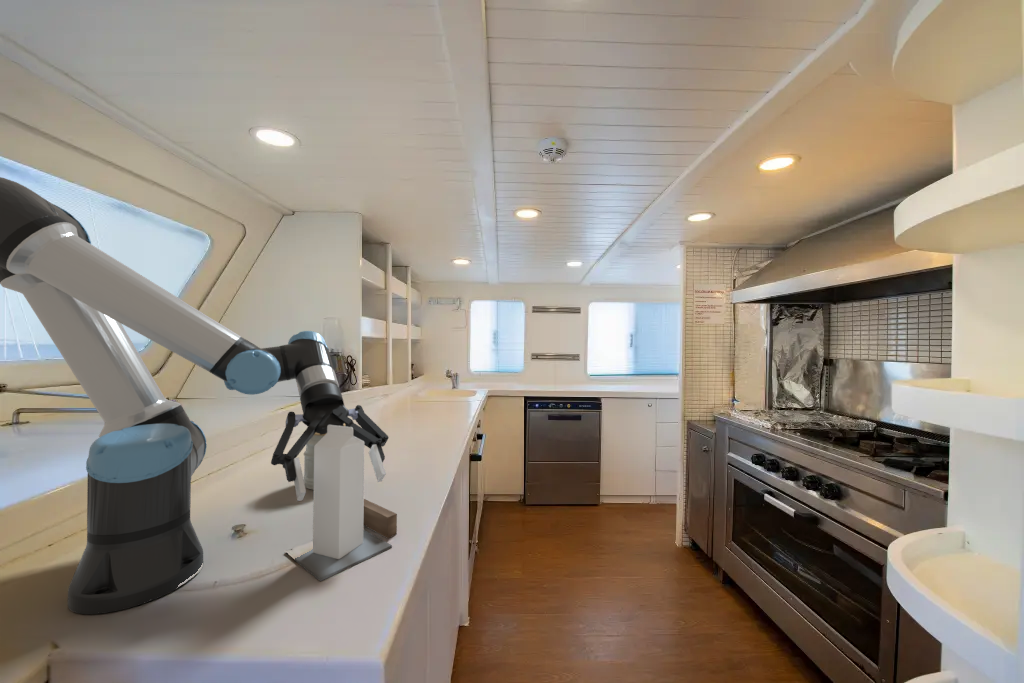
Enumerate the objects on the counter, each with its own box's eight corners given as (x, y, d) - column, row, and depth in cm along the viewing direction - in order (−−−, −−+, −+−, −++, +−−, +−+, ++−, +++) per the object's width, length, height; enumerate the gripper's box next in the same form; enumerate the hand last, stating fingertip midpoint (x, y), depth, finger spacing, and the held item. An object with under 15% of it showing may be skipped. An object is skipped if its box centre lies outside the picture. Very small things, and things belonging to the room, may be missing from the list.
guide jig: (320, 581, 61) (320, 555, 61) (258, 531, 77) (258, 511, 77) (407, 539, 74) (407, 518, 74) (339, 504, 90) (339, 487, 90)
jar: (355, 471, 113) (355, 411, 113) (358, 486, 101) (358, 418, 101) (304, 478, 107) (305, 414, 107) (301, 494, 96) (302, 422, 96)
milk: (339, 560, 66) (340, 431, 66) (312, 553, 68) (313, 428, 68) (364, 542, 72) (365, 424, 72) (338, 536, 74) (339, 421, 74)
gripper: (374, 399, 90) (403, 481, 79) (244, 410, 73) (258, 517, 62) (384, 377, 86) (416, 461, 75) (249, 385, 69) (264, 493, 58)
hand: (344, 486), depth 68 cm, fingers open, 13 cm apart
